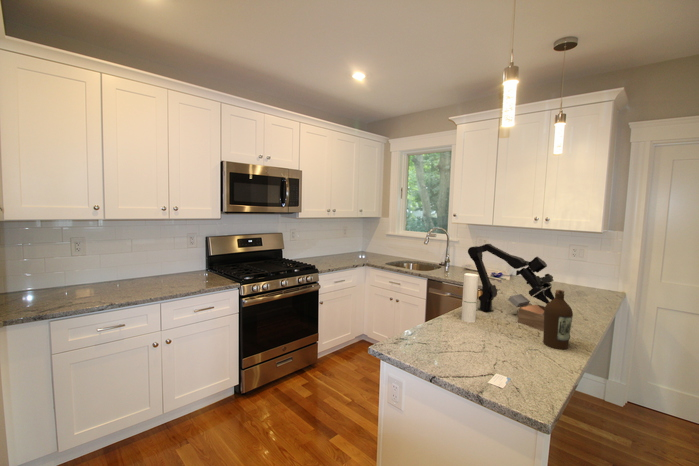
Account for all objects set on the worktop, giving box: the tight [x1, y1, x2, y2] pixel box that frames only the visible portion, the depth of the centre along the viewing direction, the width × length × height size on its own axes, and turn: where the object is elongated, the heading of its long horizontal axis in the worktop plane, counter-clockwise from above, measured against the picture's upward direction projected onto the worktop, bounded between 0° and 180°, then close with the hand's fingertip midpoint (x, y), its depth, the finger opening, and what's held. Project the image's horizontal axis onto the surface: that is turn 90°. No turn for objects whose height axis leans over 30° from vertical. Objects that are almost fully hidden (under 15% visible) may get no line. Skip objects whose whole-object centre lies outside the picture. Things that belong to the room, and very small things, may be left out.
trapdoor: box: [507, 293, 544, 315], centre depth 173 cm, size 14×23×3 cm, turn 29°
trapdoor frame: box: [517, 304, 545, 332], centre depth 169 cm, size 18×14×8 cm
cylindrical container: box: [460, 272, 479, 324], centre depth 170 cm, size 7×7×25 cm
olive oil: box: [542, 289, 574, 351], centre depth 142 cm, size 11×11×25 cm
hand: (552, 302), depth 164 cm, fingers open, 9 cm apart
